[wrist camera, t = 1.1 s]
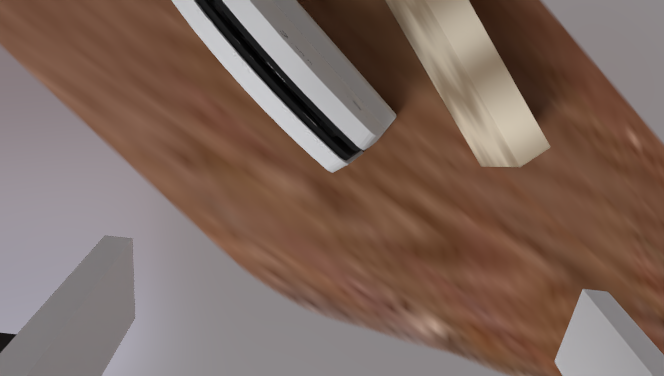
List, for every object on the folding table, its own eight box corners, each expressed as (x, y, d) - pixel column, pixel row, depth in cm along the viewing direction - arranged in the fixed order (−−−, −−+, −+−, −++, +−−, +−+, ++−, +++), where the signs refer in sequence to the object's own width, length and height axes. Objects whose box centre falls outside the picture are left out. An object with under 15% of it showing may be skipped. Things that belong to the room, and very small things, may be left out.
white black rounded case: (399, 118, 38) (401, 143, 28) (353, 158, 39) (340, 195, 29) (248, -56, 35) (194, -92, 26) (204, -7, 37) (138, -25, 27)
